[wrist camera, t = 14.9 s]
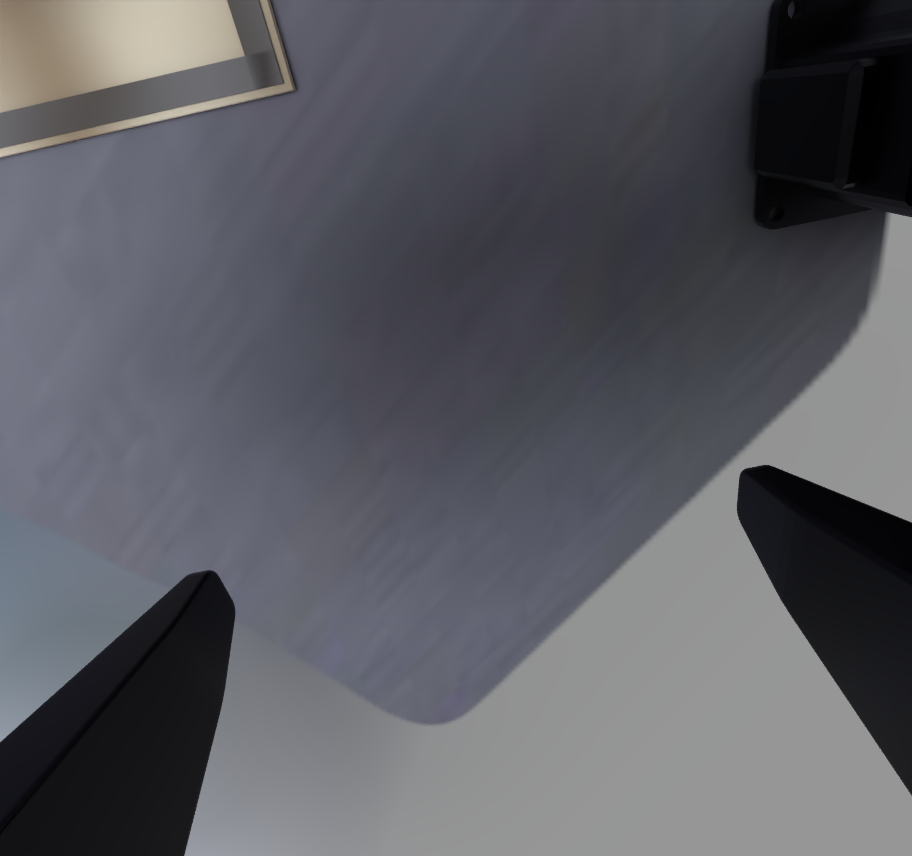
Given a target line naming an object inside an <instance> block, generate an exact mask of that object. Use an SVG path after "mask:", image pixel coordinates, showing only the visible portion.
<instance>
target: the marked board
mask: <svg viewBox="0 0 912 856" xmlns="http://www.w3.org/2000/svg"><path fill="white" fill-rule="evenodd" d="M292 91H296V89H295V85H294V82H293V78H292V75H291V71H290V68H289V65H288V61H287V58H286V54H285V51H284V47H283V44H282V40H281V37H280V34H279V30H278V27H277V23H276V20H275V16H274V13H273V9H272V6H271V3H270V0H0V158H2V157H6V156H11V155H15V154H20V153H24V152H28V151H33V150H37V149H42V148H46V147H50V146H55V145H59V144H63V143H68V142H72V141H77V140H81V139H85V138H90V137H94V136H99V135H103V134H107V133H112V132H116V131H120V130H125V129H129V128H134V127H138V126H142V125H147V124H151V123H156V122H160V121H164V120H169V119H173V118H177V117H182V116H186V115H191V114H195V113H199V112H204V111H208V110H213V109H217V108H221V107H226V106H230V105H234V104H239V103H243V102H248V101H252V100H256V99H261V98H265V97H270V96H274V95H278V94H283V93H287V92H292Z"/></svg>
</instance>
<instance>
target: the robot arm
mask: <svg viewBox="0 0 912 856" xmlns="http://www.w3.org/2000/svg"><path fill="white" fill-rule="evenodd" d="M791 1H792V0H776V1H775V3H774V4H773V7H772V11H771V19H770V32H769V44H768V57H767V70H766V75H765V76H764V78H763V79H762V81H761V84H760V97H759V110H758V123H757V137H756V150H755V163H754V168H755V170H756V171H757V172H758V184H757V196H756V209H755V219H756V222H757V223H758V225H760V226H762V227H764V228H767V229H779V228H784V227H789V226H794V225H798V224H803V223H808V222H813V221H818V220H822V219H827V218H832V217H837V216H842V215H847V214H851V213H856V212H861V211H866V210H871V209H876V210H881V211H885V212H890V213H894V214H899V215H904V216H909V217H912V0H795V1H796V2H797V5H798V9H797V12H796V15H795V16H794V17H793V18H792V19H791V18H790V17H789V16H788V7H789V4H790V2H791ZM775 206H777V208H778V211H777V214H776V215H775V217H774V218H772V219H769V213H770V211H771V210H772V208H773V207H775ZM737 513H738V517H739V520H740V522H741V525H742V527H743V528H744V530H745V532H746V534H747V536H748V538H749V540H750V542H751V544H752V546H753V548H754V549H755V552H756V553H757V555H758V557H759V559H760V561H761V563H762V565H763V567H764V569H765V571H766V573H767V575H768V577H769V578H770V580H771V582H772V584H773V586H774V588H775V590H776V592H777V593H778V595H779V597H780V599H781V601H782V602H783V604H784V605H785V607H786V608H787V610H788V612H789V613H790V615H791V616H792V618H793V619H794V621H795V622H796V624H797V625H798V627H799V628H800V630H801V631H802V633H803V634H804V636H805V637H806V639H807V640H808V642H809V643H810V645H811V646H812V648H813V649H814V651H815V652H816V654H817V655H818V657H819V658H820V660H821V661H822V662H823V664H824V666H825V667H826V668H827V670H828V672H829V673H830V675H831V676H832V677H833V679H834V680H835V682H836V683H837V685H838V686H839V688H840V689H841V691H842V692H843V694H844V695H845V697H846V698H847V700H848V701H849V703H850V704H851V706H852V707H853V709H854V710H855V712H856V713H857V715H858V716H859V718H860V719H861V721H862V722H863V724H864V725H865V727H866V728H867V730H868V731H869V732H870V734H871V736H872V737H873V738H874V740H875V742H876V743H877V744H878V746H879V748H880V749H881V750H882V752H883V753H884V755H885V756H886V758H887V759H888V761H889V762H890V764H891V765H892V767H893V768H894V770H895V771H896V773H897V774H898V776H899V777H900V779H901V780H902V782H903V783H904V785H905V786H906V788H907V789H908V790H909V792H910V794H911V795H912V523H911V522H909V521H907V520H904V519H902V518H899V517H896V516H894V515H891V514H889V513H887V512H884V511H882V510H879V509H877V508H874V507H872V506H869V505H867V504H865V503H862V502H860V501H857V500H855V499H852V498H850V497H847V496H845V495H842V494H840V493H837V492H835V491H832V490H830V489H827V488H825V487H822V486H820V485H817V484H815V483H813V482H810V481H808V480H805V479H803V478H800V477H798V476H795V475H793V474H790V473H788V472H785V471H783V470H780V469H778V468H775V467H772V466H770V465H762V466H757V467H752V468H747V469H744V470H743V471H742V472H741V474H740V478H739V488H738V500H737ZM234 621H235V606H234V603H233V600H232V599H231V597H230V595H229V593H228V592H227V590H226V588H225V586H224V585H223V583H222V581H221V579H220V578H219V576H218V574H217V573H216V572H214V571H211V570H207V571H202V572H196V573H192V574H189V575H187V576H186V577H185V578H184V579H182V580H181V581H180V582H179V583H178V584H177V585H176V586H175V587H173V588H172V589H171V590H170V591H169V592H168V593H167V594H166V595H165V596H164V597H163V598H161V599H160V600H159V601H158V602H157V603H156V604H155V605H153V606H152V607H151V608H150V609H149V610H148V611H147V612H146V613H145V614H143V615H142V616H141V617H140V618H139V619H138V620H137V621H136V622H134V623H133V624H132V625H131V626H130V627H129V628H128V629H126V630H125V631H124V632H123V633H122V634H121V635H120V636H119V637H118V638H116V639H115V640H114V641H113V642H112V643H111V644H110V645H109V646H107V647H106V648H105V649H104V650H103V651H102V652H101V653H100V654H98V655H97V656H96V657H95V658H94V659H93V660H92V661H91V662H90V663H88V665H86V666H85V667H84V668H83V669H82V670H81V671H79V672H78V673H77V674H76V675H75V676H74V677H73V678H72V679H71V680H69V681H68V682H67V683H66V684H65V685H64V686H63V687H62V688H60V689H59V690H58V691H57V692H56V693H55V694H54V695H53V696H51V697H50V698H49V699H48V700H47V701H46V702H45V703H44V704H43V705H41V706H40V707H39V708H38V709H37V710H36V711H35V712H34V713H33V714H32V715H30V716H29V717H28V718H27V719H26V720H25V721H24V722H22V723H21V724H20V725H19V726H18V727H17V728H16V729H15V730H14V731H12V732H11V733H10V734H9V735H8V736H7V737H6V738H5V739H3V741H1V742H0V856H184V854H185V850H186V846H187V842H188V839H189V834H190V830H191V826H192V823H193V819H194V815H195V811H196V807H197V803H198V799H199V795H200V791H201V787H202V783H203V779H204V775H205V771H206V766H207V763H208V759H209V755H210V751H211V746H212V743H213V739H214V735H215V731H216V727H217V723H218V719H219V715H220V710H221V706H222V702H223V696H224V690H225V685H226V678H227V671H228V664H229V657H230V649H231V643H232V635H233V628H234Z"/></svg>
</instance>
